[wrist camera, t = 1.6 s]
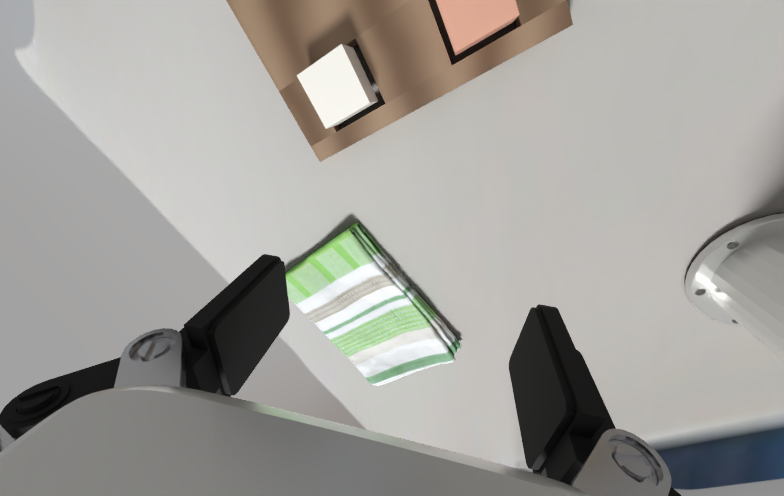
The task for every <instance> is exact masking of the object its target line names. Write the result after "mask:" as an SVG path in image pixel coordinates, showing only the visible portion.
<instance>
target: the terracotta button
mask: <svg viewBox="0 0 784 496" xmlns="http://www.w3.org/2000/svg"><path fill="white" fill-rule="evenodd" d="M436 3H437V6H438V9H439V11H440V14H441V17H442V20H443V22H444V25H445V28H446V31H447V34H448V36H449V39H450V42H451V45H452V48H453V50H454V53H455V56H456V55H458V54H459V53H461V52H463V51H465V50H466V49H468V48H470V47H471V46H473V45H475V44H477V43H478V42H480V41H482V40H483V39H485V38H487V37H489V36H490V35H492V34H494V33H495V32H497V31H499V30H500V29H502V28H504V27H506V26H507V25H509V24H511V23H512V22H513V21H514V20H515V19H516V18H517V17H518V16H519V15H520V14H519V11H518V7H517V3H516V0H436Z"/></svg>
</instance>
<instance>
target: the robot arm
mask: <svg viewBox="0 0 784 496" xmlns="http://www.w3.org/2000/svg"><path fill="white" fill-rule="evenodd" d="M685 290H686V294H687V296H688V299H689V300H690V302H691V303H692V304H693V305H694V307H695V308H697V309H698V310H699V311H700V312H701V313H702V314H703V315H705V316H707V317H708V318H710V319H712V320H715V321H717V322H720V323H723V324H728V325H733V326H743V327H744V328H745V329H746V330H747V331H749V332H750V333H751V334H752V335H753V336H754V337H755V338H757V339H758V340H759V341H760V342H761V343H762V344H764V345H765V346H766V347H767V348H768V349H769V350H771V351H772V352H773V353H774V354H775V355H776V356H778V357H779V358H780V359H781V360H782V361H783V362H784V213H782V214H775V215H770V216H766V217H763V218H759V219H755V220H752V221H750V222H747V223H745V224H742V225H740V226H737V227H736V228H734V229H732V230H730V231H728V232H726V233H724V234H723V235H721V236H720V237H718V238H717V239H715V240H714V241H713V242H711V243H710V244H709V245H708V246H707V247H706V248H705V249H703V250H702V251H701V252H700V253H699V255H698V256H697V257H696V259H695V260H694V261H693V262H692V264H691V266H690V268H689V270H688V272H687V276H686V280H685ZM289 316H290V311H289V302H288V293H287V283H286V274H285V265H284V262H283V261H281V259H280V258H279V257H277V256H272V255H266V254H264V255H262V256H261V257H260V258H259V259H257V260H256V261H255V262H254V263H253V264H252V265H251V266H250V267H248V268H247V269H246V270H245V271H244V272H243V273H242V274H241V275H239V276H238V277H237V278H236V279H235V280H234V281H233V282H232V283H230V284H229V285H228V286H227V287H226V288H225V289H224V290H223V291H222V292H220V294H218V295H217V296H216V297H215V298H214V299H212V300H211V301H210V302H209V303H208V304H207V305H206V306H205V307H204V308H202V309H201V310H200V311H199V312H198V313H197V314H196V315H194V316H193V318H191V319H190V320H189V321H188V322H187V323H186V324H184V328H183V329H182V330H181V331H179V332H178V331H177V330H173V329H165V328H163V329H157V330H153V331H150V332H148V333H145V334H143V335H141V336H139V337H137V338H136V339H134V340H133V341H132V342H130V343H129V344H128V345H127V346H126V348H125V349H124V351H123V353H122V355H121V357H120V358H117V359H114V360H111V361H108V362H104V363H101V364H98V365H95V366H92V367H89V368H85V369H82V370H79V371H76V372H73V373H70V374H66V375H63V376H60V377H57V378H54V379H50V380H48V381H45V382H42V383H40V384H37V385H35V386H33V387H31V388H29V389H27V390H25V391H24V392H22V393H21V394H19V395H18V396H17V397H15V398H14V399H12V400H11V402H9V404H7V405H6V406H5V408H4V409H3V411H2V412H1V414H0V496H681V495H680V494H679V493H678V492H676V491H675V490H674V489H673V488H672V487H671V476H670V473H669V470H668V468H667V466H666V464H665V463H664V461H663V460H662V458H661V457H660V456H659V455H658V454H657V452H656V451H655V450H654V449H653V448H652V447H651V446H650V445H648V444H647V443H646V442H645V441H644V440H642V439H641V438H639V437H637V436H636V435H634V434H632V433H630V432H627V431H625V430H621V429H616V428H615V426H614V424H613V422H612V420H611V417H610V415H609V413H608V411H607V409H606V406H605V404H604V402H603V400H602V398H601V396H600V393H599V391H598V389H597V387H596V385H595V382H594V380H593V378H592V376H591V374H590V372H589V369H588V367H587V365H586V363H585V361H584V358H583V356H582V355H581V353H580V352H579V351H578V350H576V349H575V346H574V344H573V342H572V340H571V337H570V335H569V333H568V331H567V329H566V326H565V324H564V322H563V320H562V317H561V315H560V313H559V311H558V309H557V308H556V307H550V306H545V305H538V306H537V307H536V308H531V310H530V312H529V314H528V316H527V319H526V321H525V324H524V326H523V329H522V331H521V333H520V336H519V338H518V341H517V343H516V345H515V348H514V350H513V353H512V355H511V357H510V361H509V371H510V376H511V382H512V387H513V393H514V398H515V404H516V409H517V415H518V420H519V426H520V431H521V437H522V442H523V448H524V453H525V459H526V463H527V466H528V468H530V469H533V473H531V472H527V471H524V470H520V469H517V468H513V467H509V466H505V465H502V464H498V463H494V462H491V461H487V460H483V459H480V458H476V457H472V456H468V455H464V454H460V453H456V452H452V451H448V450H444V449H440V448H436V447H432V446H428V445H424V444H420V443H416V442H413V441H409V440H405V439H401V438H397V437H393V436H389V435H385V434H381V433H376V432H372V431H368V430H364V429H360V428H356V427H352V426H348V425H344V424H340V423H336V422H331V421H328V420H324V419H320V418H316V417H312V416H308V415H303V414H299V413H295V412H291V411H287V410H283V409H279V408H274V407H270V406H266V405H262V404H258V403H254V402H250V401H245V400H241V399H237V398H232V397H230V396H231V395H235V394H236V393H237V392H238V391H239V390H240V388H241V387H242V385H243V384H244V383H245V381H246V380H247V378H248V377H249V376H250V374H251V373H252V371H253V370H254V369H255V367H256V366H257V364H258V363H259V361H260V360H261V359H262V357H263V356H264V354H265V353H266V352H267V350H268V349H269V347H270V346H271V344H272V343H273V342H274V340H275V339H276V337H277V336H278V335H279V333H280V332H281V330H282V329H283V327H284V326H285V325H286V323H287V322H288V319H289Z"/></svg>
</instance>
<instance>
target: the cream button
mask: <svg viewBox="0 0 784 496" xmlns="http://www.w3.org/2000/svg"><path fill="white" fill-rule="evenodd" d="M297 77H298V79H299V81H300V83H301V84H302V86H303V88H304V90H305V92H306V94H307V95H308V97H309V99H310V101H311V103H312V105H313V106H314V108H315V110H316V112H317V114H318V115H319V117H320V119H321V121H322V123H323V125H324V126H325V128H326V129H327V128H330V127H333V126H336V125H338V124H340V123H342V122H343V121H345V120H347V119H348V118H350V117H352V116H354V115H355V114H357V113H359V112H360V111H362V110H364V109H366V108H367V107H369V106H371V105H372V104H374V103H376V102H377V101H378V99H377V97H376V95H375V93H374V91H373V89H372V86H371V84H370V82H369V80H368V78H367V76H366V74H365V72H364V69H363V67H362V65H361V63H360V61H359V59H358V57H357V54H356V52H355V50H354V48H353V47H350V46H347V45H344V44H341V45H339V46H338V47H336V48H335V49H333V50H332V51H331V52H329V53H328V54H326V55H325V56H324V57H322V58H321V59H319V60H318V61H316V62H315V63H314V64H312V65H311V66H309V67H308V68H307V69H305V70H304V71H302V72H301V73H299V74H298V75H297Z"/></svg>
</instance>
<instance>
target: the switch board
mask: <svg viewBox="0 0 784 496" xmlns="http://www.w3.org/2000/svg"><path fill="white" fill-rule="evenodd" d="M226 1H227V2H228V4H229V6H230V7H231V9H232V11H233V13H234V14H235V16H236V18H237V20H238V21H239V23H240V25H241V26H242V28H243V30H244V32H245V33H246V35H247V37H248V39H249V40H250V42H251V44H252V45H253V47H254V49H255V51H256V52H257V54H258V56H259V58H260V59H261V61H262V63H263V64H264V66H265V68H266V70H267V71H268V73H269V75H270V77H271V78H272V80H273V82H274V83H275V85H276V87H277V89H278V90H279V92H280V94H281V96H282V97H283V99H284V101H285V102H286V104H287V106H288V108H289V109H290V111H291V113H292V115H293V116H294V118H295V120H296V121H297V123H298V125H299V127H300V128H301V130H302V132H303V134H304V135H305V137H306V139H307V140H308V142H309V144H310V146H311V147H312V149H313V151H314V153H315V154H316V156H317V158H318V159H319V161H320V162H321V161H323V160H324V159H326V158H328V157H330V156H332V155H334V154H336V153H337V152H339V151H341V150H343V149H345V148H347V147H348V146H350V145H352V144H354V143H356V142H358V141H359V140H361V139H363V138H365V137H367V136H369V135H370V134H372V133H374V132H376V131H378V130H380V129H382V128H383V127H385V126H387V125H389V124H391V123H393V122H394V121H396V120H398V119H400V118H402V117H404V116H405V115H407V114H409V113H411V112H413V111H415V110H417V109H418V108H420V107H422V106H424V105H426V104H428V103H429V102H431V101H433V100H435V99H437V98H439V97H440V96H442V95H444V94H446V93H448V92H450V91H452V90H453V89H455V88H457V87H459V86H461V85H463V84H464V83H466V82H468V81H470V80H472V79H474V78H475V77H477V76H479V75H481V74H483V73H485V72H487V71H488V70H490V69H492V68H494V67H496V66H498V65H499V64H501V63H503V62H505V61H507V60H509V59H510V58H512V57H514V56H516V55H518V54H520V53H522V52H523V51H525V50H527V49H529V48H531V47H533V46H534V45H536V44H538V43H540V42H542V41H544V40H545V39H547V38H549V37H551V36H553V35H555V34H557V33H558V32H560V31H562V30H564V29H566V28H568V27H569V26H571V25H573V23H572V19H571V14H570V10H569V5H568V1H567V0H516V3H517V7H518V11H519V14H520V15H519V16H518V17H517V18H516V19H515V24H516V27H517V28H516V29H515V30H513V31H511V32H509V33H508V34H506V35H504V36H502V37H501V38H499V39H497V40H495V41H494V42H492V43H490V44H488V45H487V46H485V47H483V48H482V49H480V50H478V51H476V52H475V53H473V54H471V55H469V56H468V57H466V58H464V59H462V60H461V61H459V62H457V63H455V64H454V65H452V64H451V61H450V58H449V56H448V53H447V50H446V48H445V45H444V42H443V39H442V37H441V34H440V31H439V28H438V26H437V23H436V20H435V17H434V15H433V12H432V9H431V7H430V4H429V1H428V0H226ZM341 44H344V45H347V46H350V47H354V46H355V45H357V44H358V45H359V47H360V49H361V52H362V54H363V56H364V58H365V60H366V62H367V65H368V67H369V69H370V71H371V73H372V75H373V78H374V80H375V82H376V84H377V86H378V88H379V91H380V93H381V95H382V97H383V99H384V101H385V104H384V105H382V106H381V107H379V108H377V109H376V110H374V111H372V112H370V113H369V114H367V115H365V116H363V117H362V118H360V119H358V120H356V121H355V122H353V123H351V124H349V125H348V126H346V127H344V128H342V127H341V125H340V124H338V125H336V126H333V127H330V128H327V129H326V128H325V126H324V125H323V123H322V121H321V119H320V117H319V115H318V114H317V112H316V110H315V108H314V106H313V105H312V103H311V101H310V99H309V97H308V95H307V94H306V92H305V90H304V88H303V86H302V84H301V83H300V81H299V79H298V77H297V75H298V74H299V73H301V72H302V71H304V70H305V69H307V68H308V67H309V66H311V65H312V64H314V63H315V62H316V61H318V60H319V59H321V58H322V57H324V56H325V55H326V54H328V53H329V52H331V51H332V50H333V49H335V48H336V47H338V46H339V45H341Z"/></svg>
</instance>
